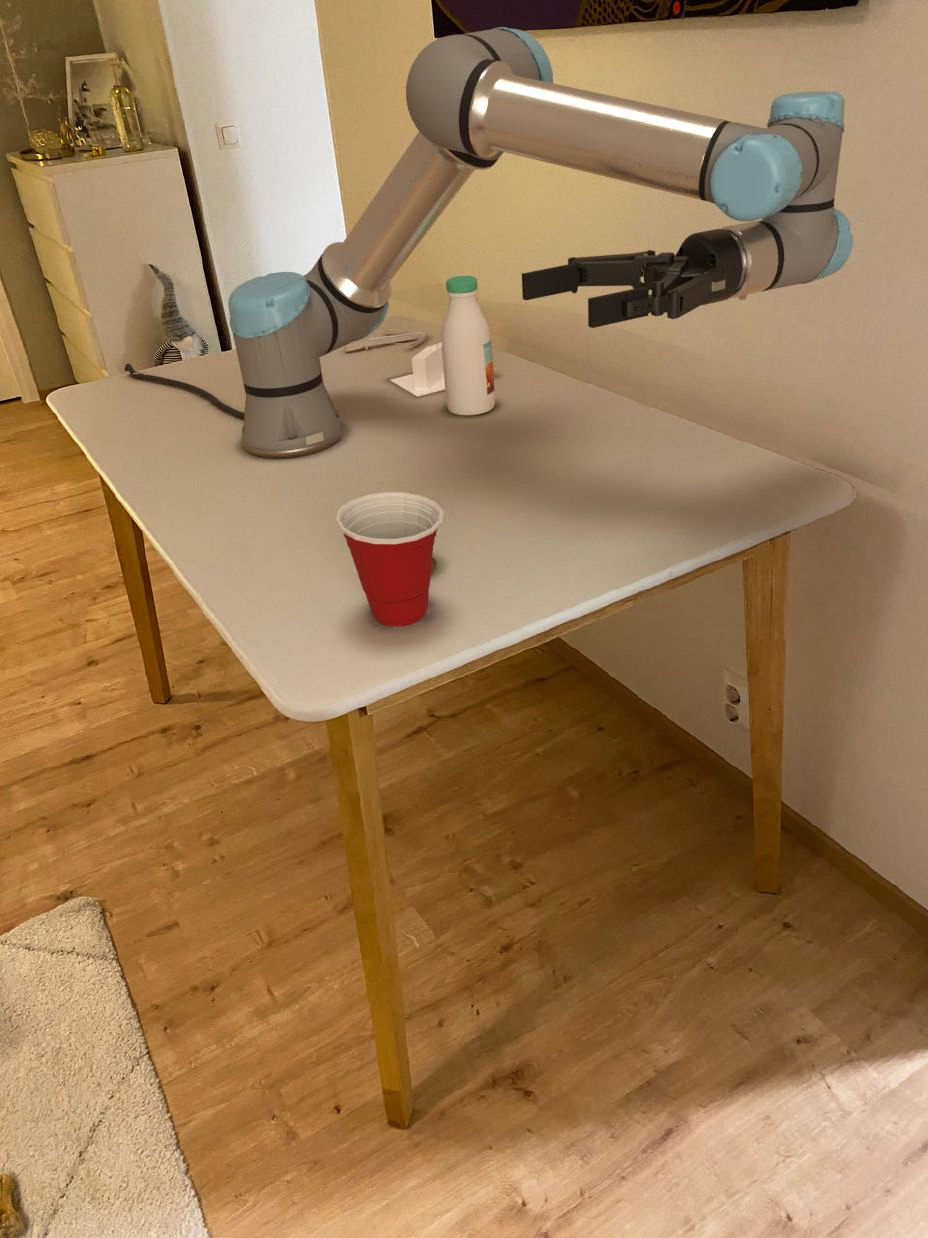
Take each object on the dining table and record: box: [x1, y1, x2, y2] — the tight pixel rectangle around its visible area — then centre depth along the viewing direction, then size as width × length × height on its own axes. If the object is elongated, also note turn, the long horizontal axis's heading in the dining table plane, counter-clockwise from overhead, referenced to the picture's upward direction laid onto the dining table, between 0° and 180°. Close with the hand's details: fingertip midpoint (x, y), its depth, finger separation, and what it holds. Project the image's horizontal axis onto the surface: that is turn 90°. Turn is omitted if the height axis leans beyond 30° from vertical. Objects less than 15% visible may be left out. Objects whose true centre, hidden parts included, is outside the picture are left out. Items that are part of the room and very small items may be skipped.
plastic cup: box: [335, 491, 444, 628], centre depth 101 cm, size 11×11×12 cm
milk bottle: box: [440, 275, 496, 416], centre depth 150 cm, size 8×8×20 cm
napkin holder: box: [390, 341, 445, 398], centre depth 167 cm, size 15×11×6 cm
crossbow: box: [344, 328, 426, 352], centre depth 188 cm, size 16×13×2 cm
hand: (554, 299), depth 100 cm, fingers open, 13 cm apart
